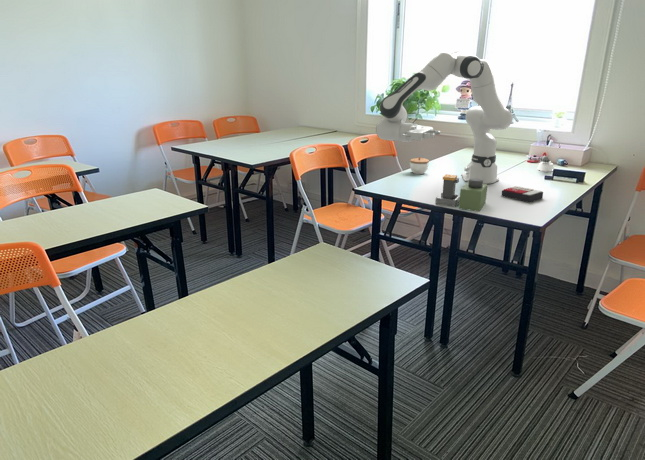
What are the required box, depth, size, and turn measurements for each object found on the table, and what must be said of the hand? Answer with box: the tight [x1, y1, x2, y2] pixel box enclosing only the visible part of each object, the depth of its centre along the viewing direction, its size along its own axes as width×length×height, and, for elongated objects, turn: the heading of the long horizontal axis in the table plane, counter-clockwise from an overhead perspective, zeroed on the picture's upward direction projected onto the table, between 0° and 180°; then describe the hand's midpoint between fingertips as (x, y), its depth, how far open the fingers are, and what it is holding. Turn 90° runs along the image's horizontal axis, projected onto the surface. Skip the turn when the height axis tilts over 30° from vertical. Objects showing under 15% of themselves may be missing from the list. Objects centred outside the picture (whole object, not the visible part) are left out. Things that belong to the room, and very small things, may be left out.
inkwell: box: [536, 155, 555, 173], centre depth 271 cm, size 9×18×10 cm, turn 148°
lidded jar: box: [409, 156, 430, 175], centre depth 272 cm, size 11×11×9 cm
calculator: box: [501, 185, 544, 204], centre depth 225 cm, size 11×4×15 cm
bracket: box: [435, 192, 460, 207], centre depth 218 cm, size 9×9×3 cm
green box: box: [458, 179, 488, 212], centre depth 212 cm, size 9×13×12 cm
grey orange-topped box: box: [442, 173, 460, 199], centre depth 216 cm, size 6×5×12 cm
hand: (437, 134), depth 218 cm, fingers open, 8 cm apart
